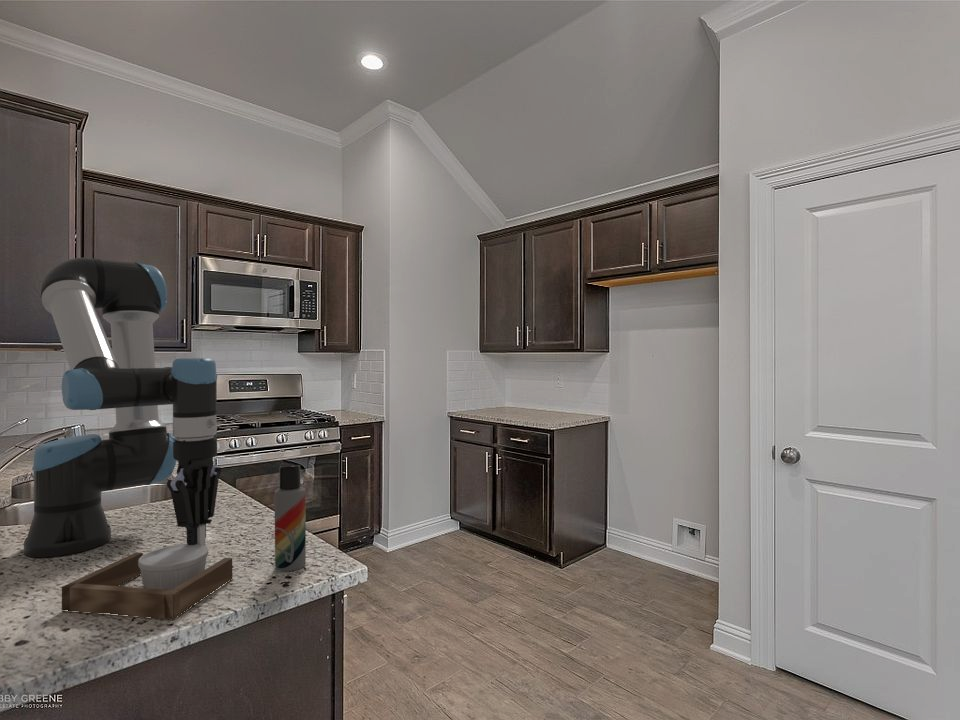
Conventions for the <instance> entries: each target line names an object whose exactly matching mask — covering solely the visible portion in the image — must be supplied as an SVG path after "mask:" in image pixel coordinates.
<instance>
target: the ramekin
mask: <svg viewBox="0 0 960 720" xmlns="http://www.w3.org/2000/svg"><path fill="white" fill-rule="evenodd" d="M208 555H209V548H208V546H206V545H205V546H204V545H200V544H195V545H187V543H182V544H174V545H170V546H169V545H168V546H165V547H161V548H160V547H159V548H157V549H154V550H152V551H149V552H146V553H145V554H143V556H141V557H140V558H139V560H138V566H139V568H140V571H141V575H140V576H141V581H142V585H143V588H149V589H163V590H172V589H174V588H175V587H177V586H179V585H180V584H182V583H184V582H185V581H187V580H189V579H190V578H192V577H194V576H195V575H197V574H199V573H200V572H202V571H204V570H205V569H206V563H207V558H208Z"/></svg>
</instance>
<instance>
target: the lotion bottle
mask: <svg viewBox="0 0 960 720" xmlns="http://www.w3.org/2000/svg"><path fill="white" fill-rule="evenodd" d="M278 475H279V479H278V480H279V481H278V482H279V483H278V485H279V488H277V489H275V490H274V564H275V565H274V567H275V569H276V570H277V571H278V570H279V571H278V572H285V571H287V572H293V570H294V571H297V569H298V570H300V569H302V568H304V567H305V565H306V560H307V559H306V558H307V555H306V553H307V549H306V548H307V547H306V546H307V542H306V540H307V539H306V534H307V533H306V529H307V527H306V526H307V525H306V518H307V517H306V488H305V487H303V486H301V484H302V483H301V481H302V480H301V465H300V464H295V465H285V466H284V465H282V466H281V465H280V466H279V473H278Z"/></svg>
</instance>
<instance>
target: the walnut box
mask: <svg viewBox="0 0 960 720" xmlns="http://www.w3.org/2000/svg"><path fill="white" fill-rule="evenodd" d="M143 555H144V553H143V552H134V553H131V554H129V555H127V556H125V557H123V558H120V559H118V560H116V561H114V562H112V563H110V564H108V565H105V566H103V567H102V568H99V569H97V570H95V571H92V572H90V573H88V574H86V575H84V576H82V577H79V578H78V579H75V580H74V581H71V582H69V583H67V584H65V585H63V586H61V611H62V610H68V611H79V612H90V613H110V614H118V615H128V616H139V617H151V618H160V619H159V620H162V619H174V618H176V617H177V616H179V615H180V614H181V613H183V612H184V611H186V610H187V609H189V608H190V607H191V606H193V605H194V604H195V603H197V602H199V601H200V600H201V599H203V598H204V597H206V596H207V595H209V594H210V593H212V592H213V591H215V590H216V589H218V588H219V587H220V586H222V585H223V584H225V583H226V582H228V581H229V580H231V579H232V580H233V558H232V557H223V558H222V559H220V560H219V561H217V562H215V563H213V564H212V565H211V566H209V567H206V568H205V570H204V571H202V572H200V573H199V574H197V575H195V576H194V577H192V578H190V579H189V580H187V581H185V582H184V583H182V584H180V585H179V586H177V587H175V588H174V589H172V590H163V589H149V588H145V587H133V586H132V587H131V586H122V585H121V584H123V583H124V584H126V583H128V582H130V581H132V580H133V579H132V578H134V579H136V578H137V577H136V576H138V575H140V574H141V571H140V568H139V566H138V560H139V558H140V557H141V556H143ZM140 576H141V575H140ZM135 577H136V578H135ZM138 577H139V576H138ZM131 579H132V580H131ZM129 580H130V581H129ZM232 580H231V581H232ZM127 581H128V582H127ZM125 582H126V583H125ZM228 583H229V582H228ZM124 584H123V585H124ZM119 585H121V586H119ZM225 585H226V584H225ZM218 590H219V589H218ZM215 592H216V591H215ZM212 594H213V593H212ZM209 596H210V595H209ZM206 598H207V597H206ZM199 603H200V602H199ZM193 607H194V606H193ZM190 609H191V608H190ZM190 609H189V610H190ZM186 612H187V611H186ZM183 614H184V613H183ZM180 616H181V615H180ZM180 616H179V617H180ZM177 618H178V617H177ZM177 618H176V619H177ZM174 620H175V619H174Z"/></svg>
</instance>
